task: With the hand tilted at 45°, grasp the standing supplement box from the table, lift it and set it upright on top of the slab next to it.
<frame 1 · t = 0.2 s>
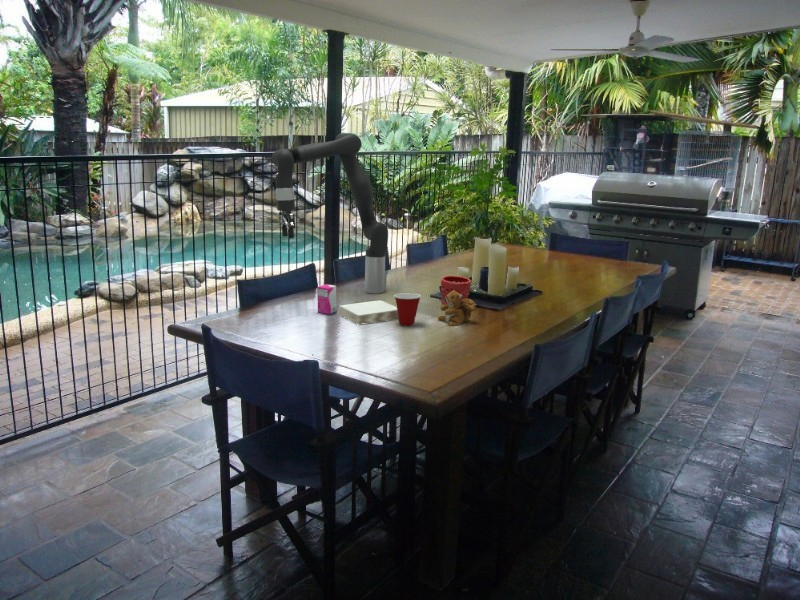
hand: (288, 237, 278), 29 cm above the table, tool pointing down, fingers open, 8 cm apart
supplement box: (326, 313, 272), on the table
plastic cup: (406, 324, 261), on the table
plant pot: (454, 305, 293), on the table
slab: (369, 316, 269), on the table
stuffed squirrel: (456, 322, 266), on the table
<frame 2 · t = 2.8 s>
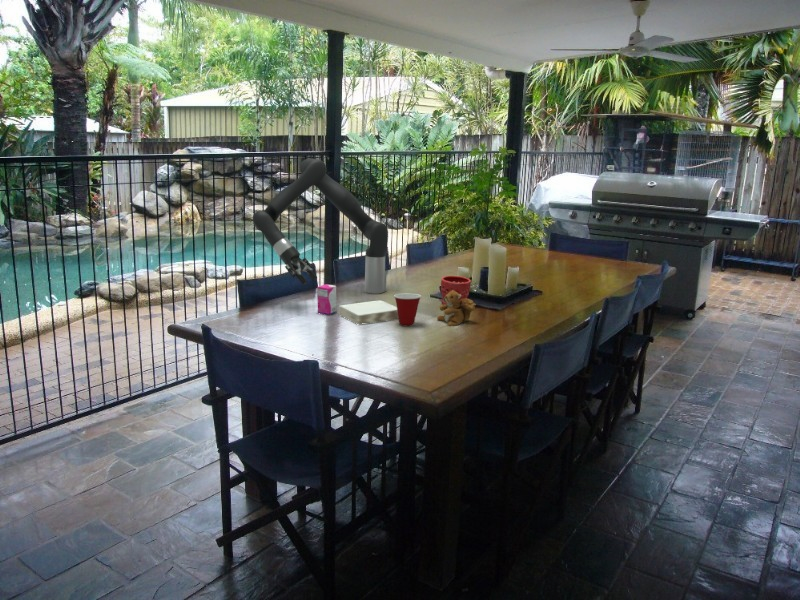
hand: (310, 281, 272), 13 cm above the table, tool tilted 45°, fingers open, 8 cm apart
nothing on the table moved.
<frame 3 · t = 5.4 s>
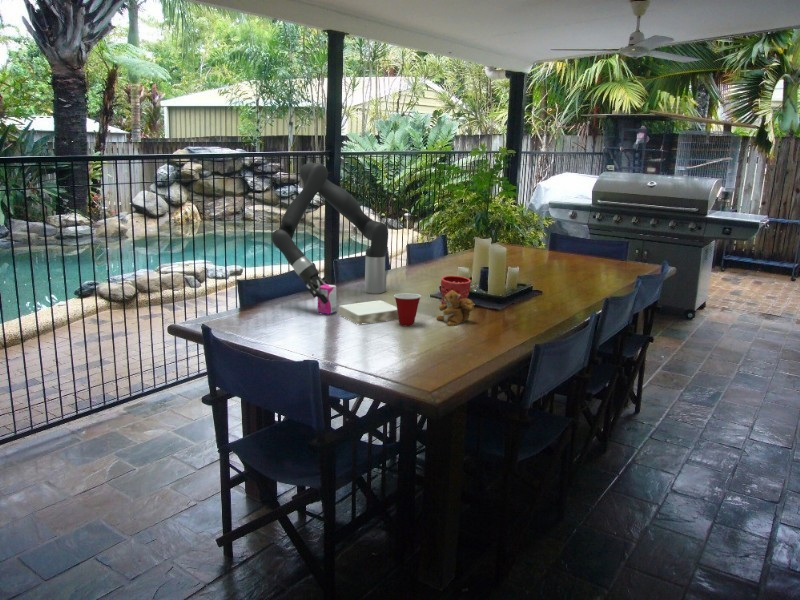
hand: (330, 300, 270), 5 cm above the table, tool tilted 45°, fingers closed on supplement box, 6 cm apart
supplement box: (326, 313, 272), on the table, touching gripper
everything else where it was.
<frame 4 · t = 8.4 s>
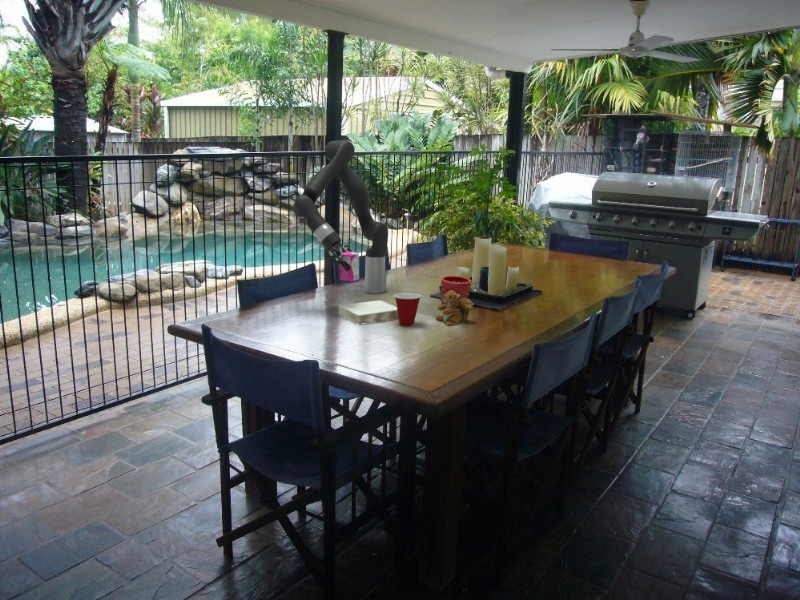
hand: (353, 268, 265), 20 cm above the table, tool tilted 45°, fingers closed on supplement box, 6 cm apart
supplement box: (349, 281, 267), point 14 cm above the table, touching gripper
everything else where it was.
when the fingers open (11 cm above the table, at t = 11.3 s): supplement box drops 1 cm, resting on slab.
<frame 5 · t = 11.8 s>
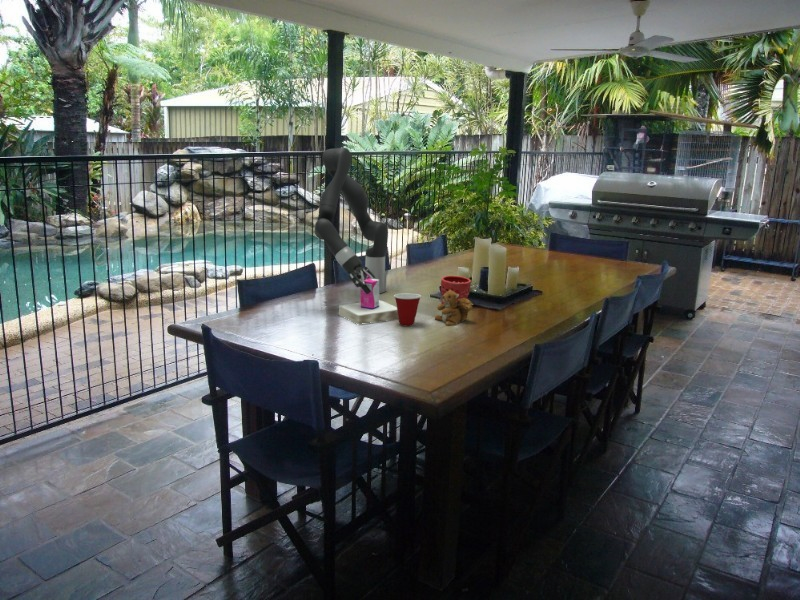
hand: (373, 290, 265), 11 cm above the table, tool tilted 45°, fingers open, 8 cm apart
supplement box: (369, 307, 268), point 4 cm above the table, touching slab
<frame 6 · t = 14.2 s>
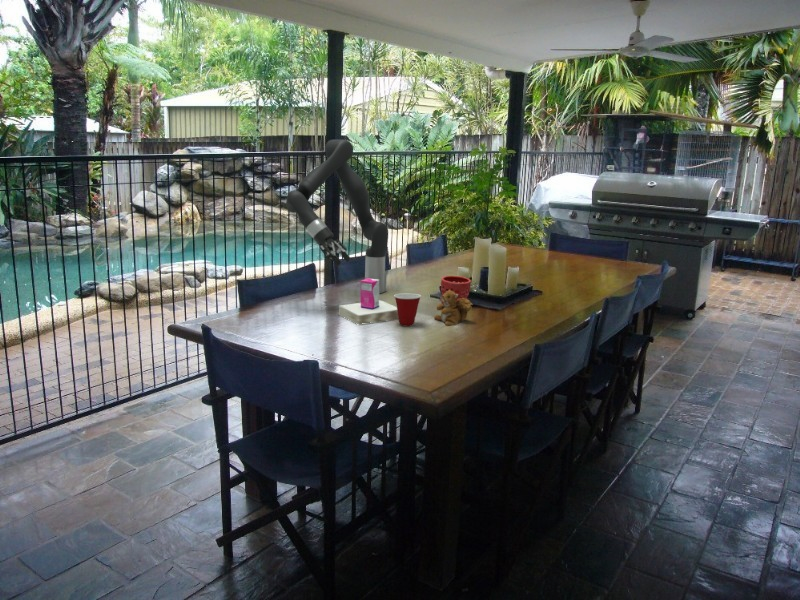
hand: (344, 262, 268), 21 cm above the table, tool tilted 45°, fingers open, 8 cm apart
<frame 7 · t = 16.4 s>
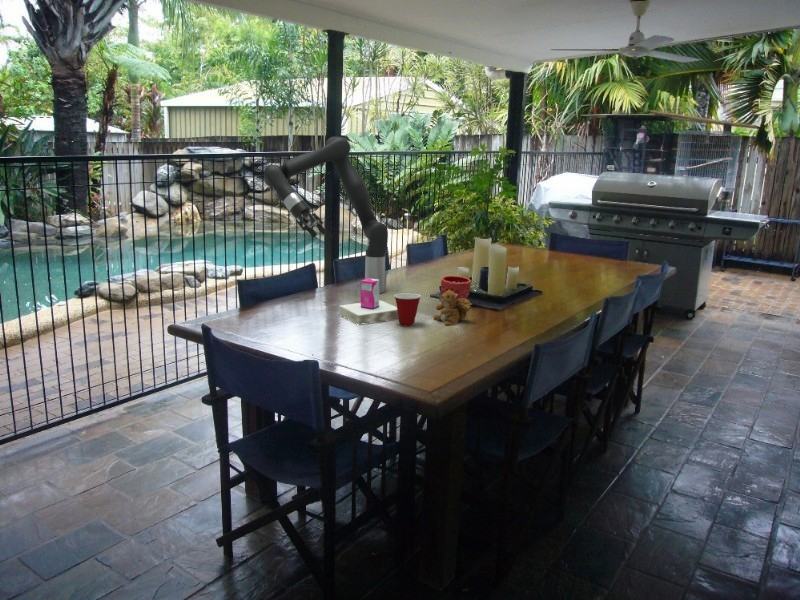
hand: (320, 234, 275), 31 cm above the table, tool tilted 45°, fingers open, 8 cm apart
at the end: supplement box inside the target area on the slab (0.3 cm from its centre), point 3.8 cm above the slab's base; supplement box tilted 0°; the gripper is holding nothing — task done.
